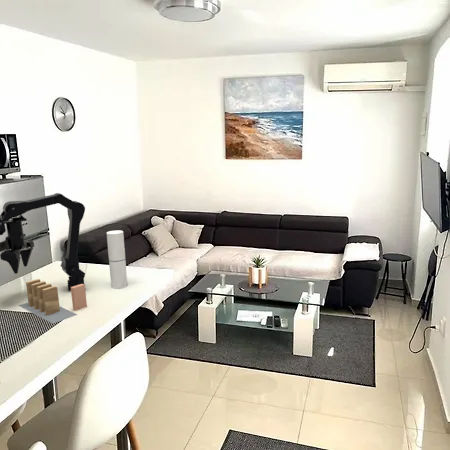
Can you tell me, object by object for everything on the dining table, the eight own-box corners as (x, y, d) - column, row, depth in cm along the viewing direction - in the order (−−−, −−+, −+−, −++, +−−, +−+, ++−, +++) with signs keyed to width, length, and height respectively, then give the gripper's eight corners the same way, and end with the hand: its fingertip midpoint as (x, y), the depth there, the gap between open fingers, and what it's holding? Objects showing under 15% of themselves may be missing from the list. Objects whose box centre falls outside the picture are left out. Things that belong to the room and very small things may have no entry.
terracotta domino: (73, 311, 170) (70, 287, 168) (84, 307, 174) (82, 283, 172) (75, 312, 169) (73, 288, 167) (87, 308, 173) (84, 284, 171)
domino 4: (45, 314, 167) (42, 289, 165) (57, 310, 170) (54, 285, 168) (47, 315, 165) (44, 290, 163) (59, 311, 169) (57, 286, 167)
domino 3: (39, 311, 170) (36, 286, 167) (51, 307, 173) (49, 283, 171) (41, 312, 168) (38, 287, 166) (54, 308, 172) (51, 284, 170)
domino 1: (28, 305, 175) (25, 282, 173) (40, 302, 179) (38, 278, 177) (31, 306, 174) (27, 283, 172) (43, 303, 178) (40, 279, 176)
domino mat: (18, 307, 176) (18, 305, 176) (42, 299, 184) (42, 297, 184) (52, 325, 158) (52, 323, 158) (77, 316, 166) (77, 314, 165)
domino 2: (34, 308, 172) (31, 284, 170) (46, 304, 176) (43, 281, 174) (36, 309, 171) (33, 285, 169) (48, 305, 175) (45, 281, 173)
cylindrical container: (113, 289, 193) (108, 234, 188) (109, 285, 199) (104, 231, 194) (129, 286, 196) (125, 232, 191) (125, 282, 203) (120, 229, 197)
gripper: (5, 228, 185) (11, 263, 188) (-17, 239, 167) (-11, 278, 170) (32, 227, 185) (37, 262, 188) (13, 238, 167) (18, 277, 170)
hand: (20, 269), depth 179 cm, fingers open, 9 cm apart
